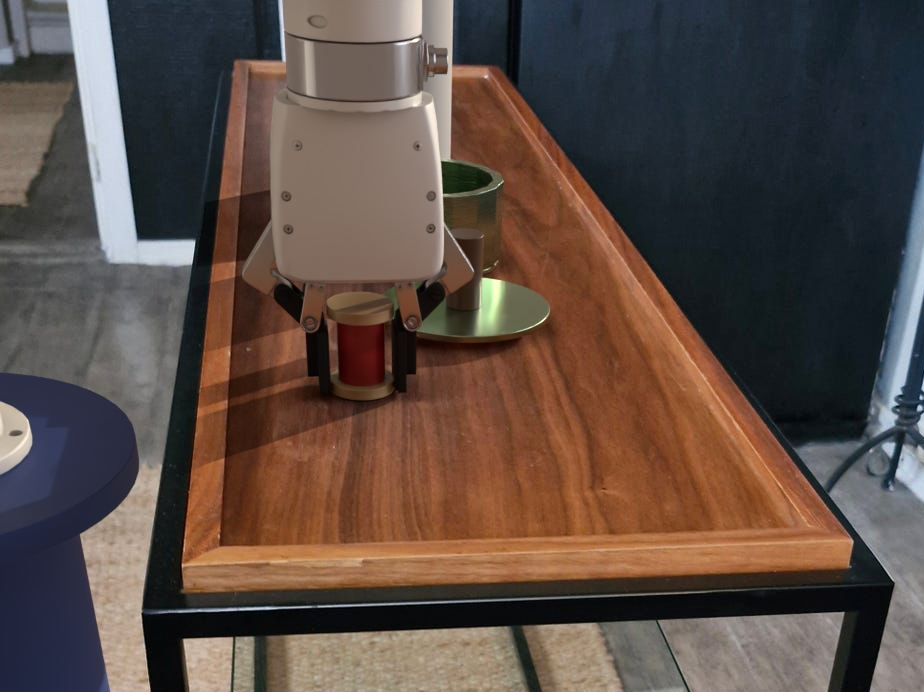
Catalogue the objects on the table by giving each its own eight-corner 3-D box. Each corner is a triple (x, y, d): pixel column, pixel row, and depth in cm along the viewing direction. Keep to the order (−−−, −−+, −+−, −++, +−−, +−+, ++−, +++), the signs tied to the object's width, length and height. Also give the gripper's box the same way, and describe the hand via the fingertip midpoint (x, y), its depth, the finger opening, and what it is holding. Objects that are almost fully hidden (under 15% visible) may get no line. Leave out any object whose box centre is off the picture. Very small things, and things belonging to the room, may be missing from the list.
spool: (330, 401, 77) (327, 315, 74) (328, 375, 80) (324, 291, 77) (397, 400, 78) (396, 314, 74) (391, 374, 81) (391, 291, 78)
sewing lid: (384, 353, 84) (382, 263, 80) (371, 291, 94) (369, 208, 90) (563, 350, 85) (570, 261, 82) (533, 289, 95) (538, 207, 91)
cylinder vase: (429, 169, 122) (432, -136, 107) (465, 204, 113) (474, -124, 98) (306, 174, 119) (290, -139, 104) (333, 211, 110) (320, -127, 95)
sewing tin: (362, 283, 95) (359, 197, 91) (353, 238, 104) (351, 157, 100) (509, 281, 96) (513, 196, 93) (488, 237, 105) (490, 157, 101)
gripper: (493, 59, 72) (482, 361, 83) (202, 54, 70) (231, 365, 81) (514, 85, 66) (498, 406, 77) (197, 82, 64) (228, 412, 75)
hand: (361, 382), depth 79 cm, fingers closed on spool, 4 cm apart
